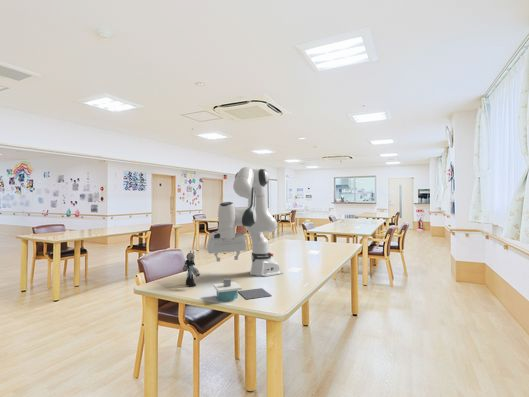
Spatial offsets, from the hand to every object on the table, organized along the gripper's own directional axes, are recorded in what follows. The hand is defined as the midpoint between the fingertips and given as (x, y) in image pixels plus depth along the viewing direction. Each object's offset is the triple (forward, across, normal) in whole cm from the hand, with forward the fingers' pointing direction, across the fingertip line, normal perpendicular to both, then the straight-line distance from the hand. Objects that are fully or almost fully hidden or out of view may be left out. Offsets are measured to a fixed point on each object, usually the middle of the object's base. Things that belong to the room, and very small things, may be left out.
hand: (227, 260), depth 157 cm
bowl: (+19, 0, 0) cm, 19 cm away
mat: (+19, -15, 0) cm, 24 cm away
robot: (+19, +14, -30) cm, 38 cm away
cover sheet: (+14, 0, 0) cm, 14 cm away
